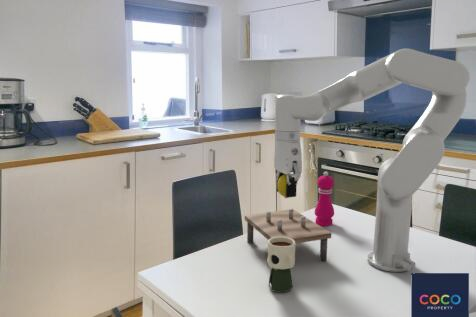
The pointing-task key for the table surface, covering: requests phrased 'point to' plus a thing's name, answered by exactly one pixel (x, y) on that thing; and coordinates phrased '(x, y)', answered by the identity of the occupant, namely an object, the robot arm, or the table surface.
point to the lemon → (282, 185)
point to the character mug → (281, 262)
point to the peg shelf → (288, 228)
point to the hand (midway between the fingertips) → (286, 193)
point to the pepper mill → (324, 201)
